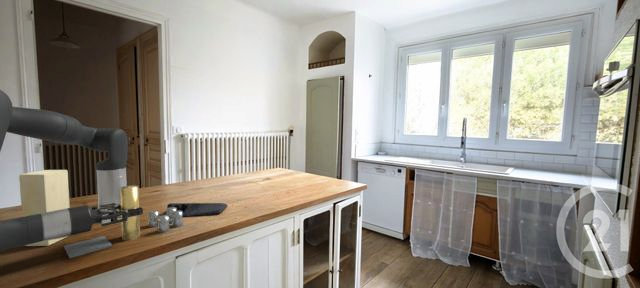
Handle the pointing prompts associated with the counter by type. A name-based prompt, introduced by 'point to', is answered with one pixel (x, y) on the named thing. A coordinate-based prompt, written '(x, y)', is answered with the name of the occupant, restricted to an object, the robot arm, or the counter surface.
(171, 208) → the steel spacer
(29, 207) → the cream rectangular block
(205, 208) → the dark slate chunk
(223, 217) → the counter surface
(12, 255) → the counter surface
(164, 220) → the steel spacer
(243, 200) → the counter surface
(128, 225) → the brass sleeve
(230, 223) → the counter surface
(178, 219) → the steel spacer
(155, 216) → the steel spacer
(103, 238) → the slate pad
